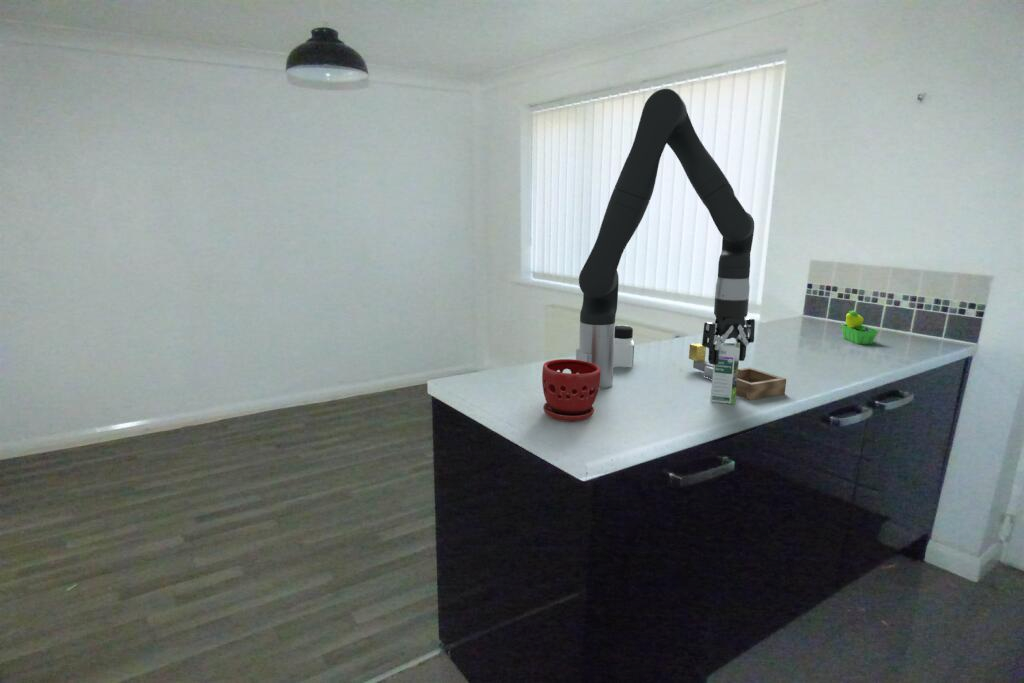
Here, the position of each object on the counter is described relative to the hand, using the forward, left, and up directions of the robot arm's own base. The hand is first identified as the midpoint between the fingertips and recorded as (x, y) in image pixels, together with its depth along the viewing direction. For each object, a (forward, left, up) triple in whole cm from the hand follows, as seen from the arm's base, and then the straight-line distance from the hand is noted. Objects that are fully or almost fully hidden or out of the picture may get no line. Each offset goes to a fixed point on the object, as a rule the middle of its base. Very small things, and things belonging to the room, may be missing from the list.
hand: (726, 362), depth 135 cm
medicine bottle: (-4, +38, -10) cm, 40 cm away
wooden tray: (+12, +3, -10) cm, 16 cm away
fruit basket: (+92, +30, -10) cm, 97 cm away
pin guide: (+12, +13, -10) cm, 20 cm away
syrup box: (0, 0, -10) cm, 10 cm away
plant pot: (-40, +6, -10) cm, 42 cm away
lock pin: (+12, +19, -9) cm, 24 cm away
